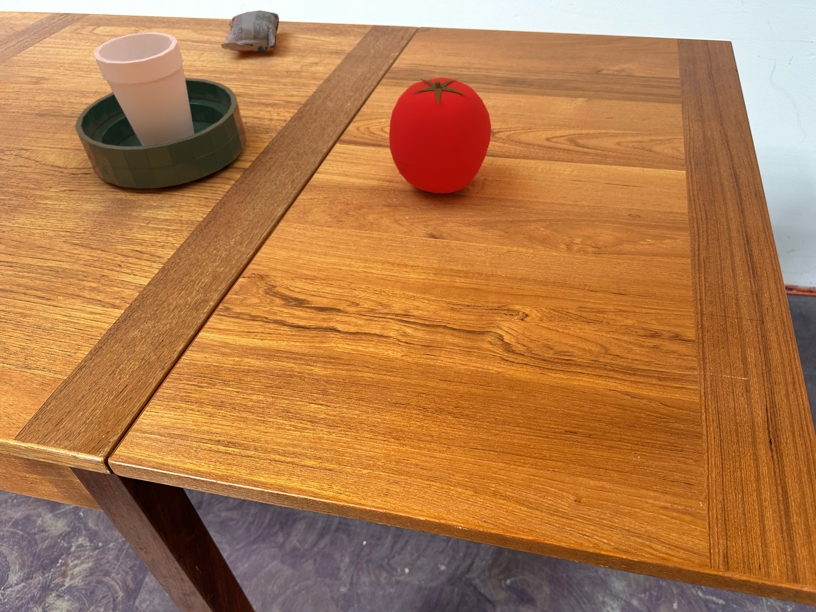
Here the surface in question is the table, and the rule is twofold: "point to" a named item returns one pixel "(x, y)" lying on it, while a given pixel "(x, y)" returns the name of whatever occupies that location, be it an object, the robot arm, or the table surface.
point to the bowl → (167, 162)
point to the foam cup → (148, 84)
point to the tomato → (439, 135)
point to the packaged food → (252, 31)
